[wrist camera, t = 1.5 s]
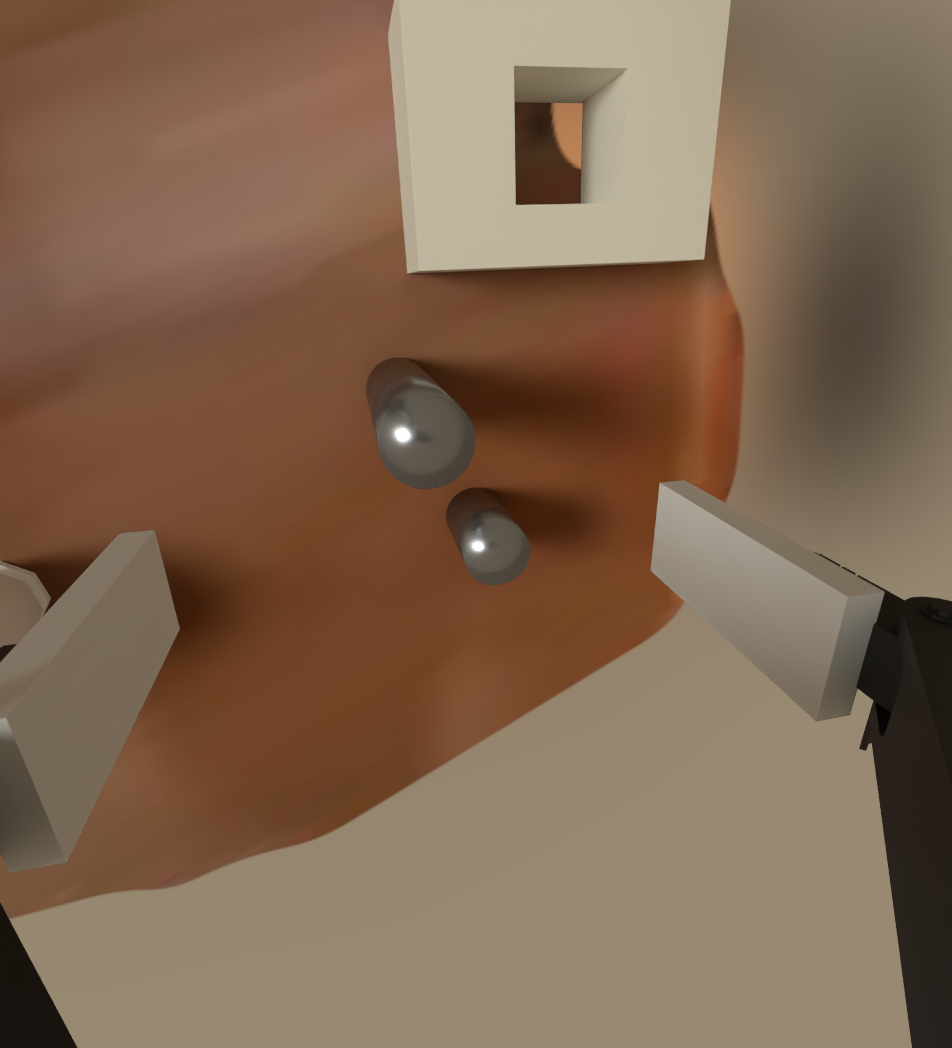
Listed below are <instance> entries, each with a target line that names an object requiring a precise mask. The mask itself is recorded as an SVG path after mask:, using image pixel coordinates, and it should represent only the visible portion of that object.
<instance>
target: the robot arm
mask: <svg viewBox="0 0 952 1048" xmlns="http://www.w3.org/2000/svg"><path fill="white" fill-rule="evenodd" d="M651 571H652V572H653V573H654V574H655V575H656V576H657V577H658V578H659V579H661V580H662V581H663V582H664V583H665V584H666V585H667V586H668V587H669V588H670V589H672V590H673V591H674V592H675V593H676V594H677V595H678V596H679V597H680V598H681V599H682V600H684V601H685V602H686V603H687V604H688V605H689V606H690V607H691V608H692V609H694V610H695V611H696V612H697V613H698V614H699V615H700V616H701V617H702V618H703V619H705V620H706V621H707V622H708V623H709V624H710V625H711V626H712V627H713V628H714V629H716V631H718V632H719V633H720V634H721V635H722V636H723V637H724V638H725V639H727V641H729V642H730V643H731V644H732V645H733V646H734V647H735V648H736V649H737V650H739V651H740V652H741V653H742V654H743V655H744V656H745V657H746V658H747V659H748V660H749V661H750V662H752V663H753V664H754V665H755V666H756V667H757V668H758V669H759V670H760V671H761V672H763V673H764V674H765V675H766V676H767V677H768V678H769V679H770V680H771V681H773V682H774V683H775V684H776V685H777V686H778V687H779V688H780V689H781V690H782V691H783V692H785V693H786V694H787V695H788V696H789V697H790V698H791V699H792V700H793V701H794V702H795V703H797V704H798V705H799V706H800V707H801V708H802V709H803V710H804V711H805V712H806V713H808V714H809V715H810V716H811V717H812V718H813V719H814V720H815V721H821V720H826V719H831V718H837V717H841V716H847V715H850V713H851V710H852V706H853V703H854V699H855V695H856V692H857V688H858V689H859V690H861V691H862V692H863V693H864V694H866V695H867V696H869V697H870V698H871V699H872V700H873V704H872V708H871V711H870V714H869V718H868V721H867V724H866V728H865V731H864V734H863V738H862V741H861V745H860V749H862V750H865V751H866V749H867V746H868V744H870V743H872V748H873V755H874V762H875V770H876V778H877V785H878V793H879V801H880V808H881V815H882V823H883V831H884V838H885V846H886V853H887V861H888V868H889V876H890V884H891V891H892V898H893V906H894V914H895V921H896V928H897V936H898V943H899V952H900V960H901V967H902V975H903V982H904V989H905V997H906V1005H907V1012H908V1019H909V1028H910V1035H911V1043H912V1048H952V601H948V600H943V599H939V598H930V597H912V598H909V599H907V600H903V599H901V598H899V597H897V596H895V595H894V594H892V593H890V592H888V591H887V590H885V589H883V588H881V587H879V586H877V585H876V584H874V583H872V582H870V581H868V580H867V579H865V578H863V577H861V576H859V575H858V576H856V575H855V573H854V572H852V571H850V570H848V569H847V568H845V567H840V565H839V564H838V563H836V562H834V561H832V560H830V559H828V558H827V557H825V556H823V555H821V554H818V553H815V552H812V551H811V550H809V549H807V548H805V547H803V546H802V545H800V544H798V543H796V542H794V541H793V540H791V539H789V538H787V537H785V536H784V535H782V534H780V533H778V532H776V531H775V530H773V529H771V528H769V527H767V526H766V525H764V524H762V523H760V522H758V521H757V520H755V519H753V518H751V517H750V516H748V515H746V514H744V513H742V512H741V511H739V510H737V509H735V508H733V507H731V506H730V505H728V504H726V503H724V502H723V501H721V500H719V499H717V498H715V497H714V496H712V495H710V494H708V493H706V492H705V491H703V490H701V489H699V488H697V487H696V486H694V485H692V484H690V483H688V482H687V481H685V480H684V481H674V482H663V483H660V486H659V496H658V505H657V515H656V525H655V534H654V544H653V553H652V563H651ZM179 630H180V627H179V624H178V620H177V616H176V612H175V608H174V604H173V600H172V596H171V592H170V588H169V585H168V581H167V577H166V573H165V569H164V565H163V561H162V557H161V553H160V549H159V545H158V542H157V538H156V534H155V530H152V531H141V532H130V533H120V534H119V535H118V536H117V537H116V538H115V539H114V540H113V541H112V542H111V543H110V544H109V545H108V547H107V548H106V549H105V550H104V551H103V552H102V553H101V554H100V555H99V556H98V557H97V558H96V559H95V561H94V562H93V563H92V564H91V565H90V566H89V567H88V568H87V569H86V570H85V571H84V572H83V574H82V575H81V576H80V577H79V578H78V579H77V580H76V581H75V582H74V583H73V584H72V585H71V586H70V588H69V589H68V590H67V591H66V592H65V593H64V594H63V595H62V596H61V597H60V598H59V599H58V601H57V602H56V603H55V604H54V605H53V606H52V607H51V608H50V609H49V610H48V611H47V612H46V613H45V615H44V616H43V617H42V618H41V619H40V620H39V621H38V622H37V623H36V624H35V625H34V626H33V628H32V629H31V630H30V631H29V632H28V633H27V634H26V635H25V636H24V637H23V638H22V639H21V640H20V642H19V643H18V644H11V645H4V646H2V647H1V648H0V853H1V855H2V857H3V859H4V862H5V864H6V866H7V868H8V870H9V872H10V873H11V872H16V871H22V870H27V869H32V868H38V867H43V866H48V865H54V864H59V863H64V862H67V860H68V858H69V856H70V854H71V852H72V850H73V848H74V846H75V844H76V842H77V840H78V838H79V836H80V834H81V831H82V829H83V827H84V825H85V823H86V821H87V819H88V817H89V815H90V813H91V811H92V809H93V807H94V805H95V803H96V801H97V799H98V796H99V794H100V792H101V790H102V788H103V786H104V784H105V782H106V780H107V778H108V776H109V774H110V772H111V770H112V768H113V766H114V764H115V762H116V759H117V757H118V755H119V753H120V751H121V749H122V747H123V745H124V743H125V741H126V739H127V737H128V735H129V733H130V731H131V729H132V727H133V724H134V722H135V720H136V718H137V716H138V714H139V712H140V710H141V708H142V706H143V704H144V702H145V700H146V698H147V696H148V694H149V692H150V689H151V687H152V685H153V683H154V681H155V679H156V677H157V675H158V673H159V671H160V669H161V667H162V665H163V663H164V661H165V659H166V657H167V654H168V652H169V650H170V648H171V646H172V644H173V642H174V640H175V638H176V636H177V634H178V632H179ZM0 1048H77V1046H76V1044H75V1043H74V1041H73V1039H72V1037H71V1035H70V1033H69V1031H68V1029H67V1027H66V1026H65V1024H64V1022H63V1020H62V1018H61V1016H60V1014H59V1012H58V1010H57V1009H56V1007H55V1005H54V1003H53V1001H52V999H51V997H50V995H49V994H48V992H47V990H46V988H45V986H44V984H43V983H42V980H41V978H40V977H39V975H38V973H37V971H36V969H35V967H34V965H33V963H32V962H31V960H30V958H29V956H28V954H27V952H26V950H25V948H24V947H23V945H22V943H21V941H20V939H19V937H18V935H17V933H16V931H15V930H14V928H13V926H12V924H11V922H10V920H9V918H8V916H7V915H6V913H5V911H4V909H3V907H2V905H1V903H0Z"/></svg>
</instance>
